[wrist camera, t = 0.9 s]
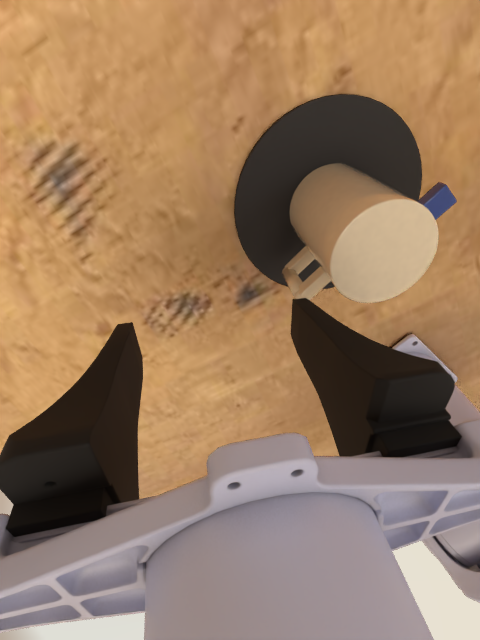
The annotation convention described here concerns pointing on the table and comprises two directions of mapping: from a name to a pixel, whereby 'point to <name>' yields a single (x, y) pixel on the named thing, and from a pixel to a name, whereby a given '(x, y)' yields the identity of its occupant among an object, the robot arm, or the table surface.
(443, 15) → the table surface
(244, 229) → the coaster
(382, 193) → the tan cylindrical vessel
